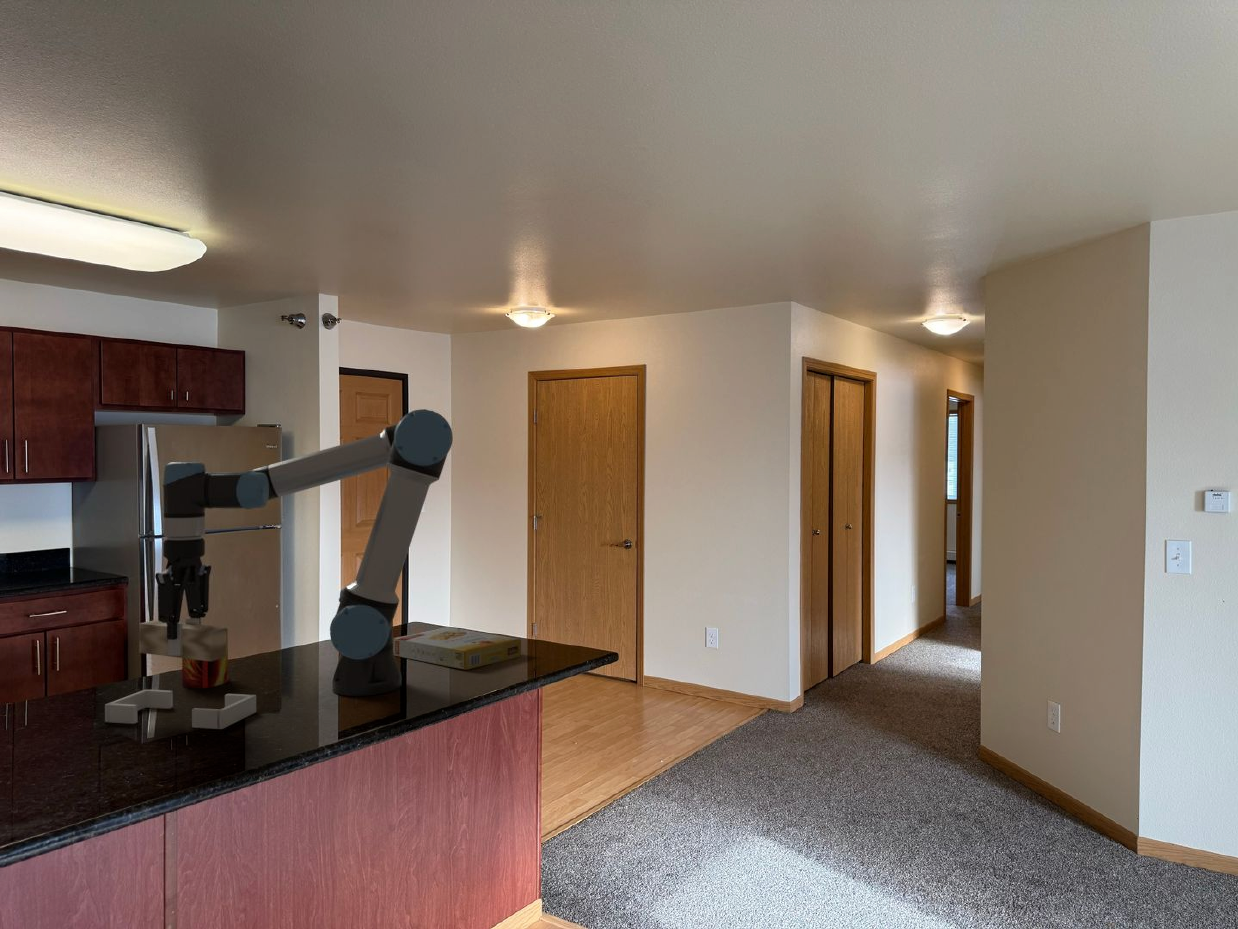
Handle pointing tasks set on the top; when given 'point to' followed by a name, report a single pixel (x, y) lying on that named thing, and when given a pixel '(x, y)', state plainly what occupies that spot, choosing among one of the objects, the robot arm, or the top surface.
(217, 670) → the mug
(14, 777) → the top surface
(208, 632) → the wooden block
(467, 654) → the cereal box
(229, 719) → the tray
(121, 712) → the endcap far
